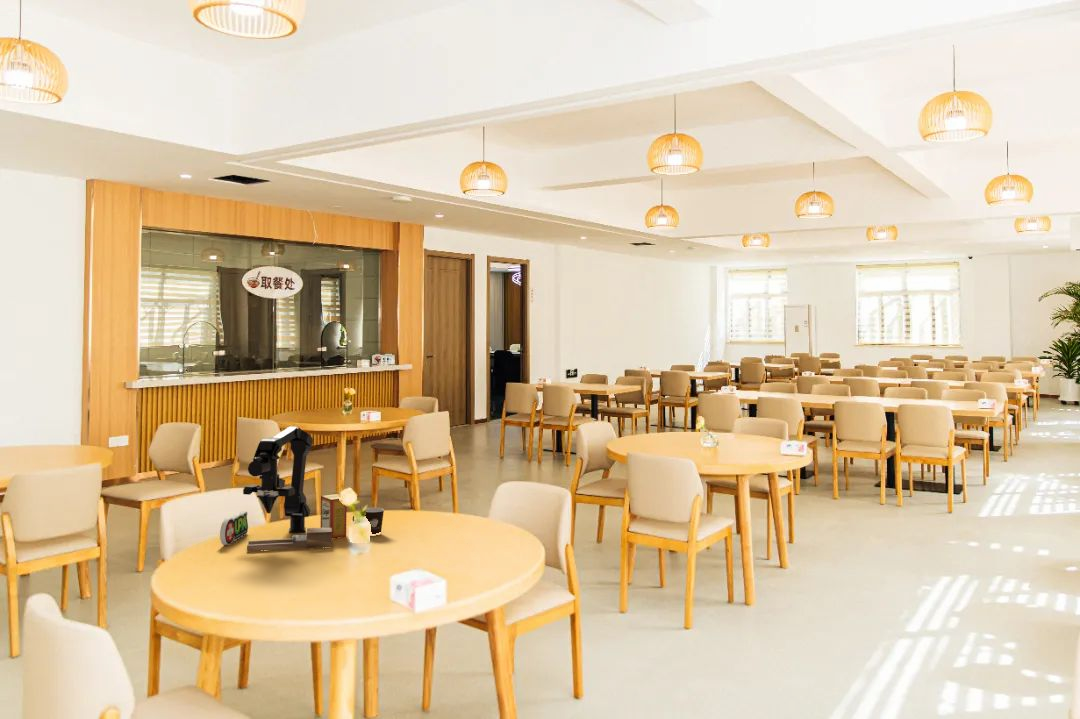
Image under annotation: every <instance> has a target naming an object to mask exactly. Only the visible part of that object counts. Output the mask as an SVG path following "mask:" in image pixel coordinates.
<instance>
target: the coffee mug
mask: <svg viewBox="0 0 1080 719" xmlns="http://www.w3.org/2000/svg"><path fill="white" fill-rule="evenodd" d="M365 509H366V515H365V516H366V518H367V519H368V521H369V522H370V524H371V532H372V534H376V533H379V532H381V533H382V528H383V527H382V526H383V520H384V512H385V509H384V508H382V507H367V508H365ZM352 521H353V522H354V521H355V517H354V515H353V516H352Z"/></svg>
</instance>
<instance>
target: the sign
mask: <svg viewBox="0 0 1080 719" xmlns="http://www.w3.org/2000/svg"><path fill="white" fill-rule="evenodd" d="M248 523H249V522H248V511H241V512H239V513H238V514H235V515H233V516H231V517H230V518H229V517H226V518H224V520H223V521H222V523H221V526H220V530H219V540H220V543H221V544H222V545H223V546H230V545H232V544H233V542H236V541H237V539H238V540H239V539H241V538H242V537H244V536H246V535H247V534H248V531H249V524H248ZM245 534H246V535H245ZM243 535H244V536H243ZM240 537H241V538H240ZM231 543H232V544H231ZM229 544H230V545H229Z"/></svg>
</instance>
